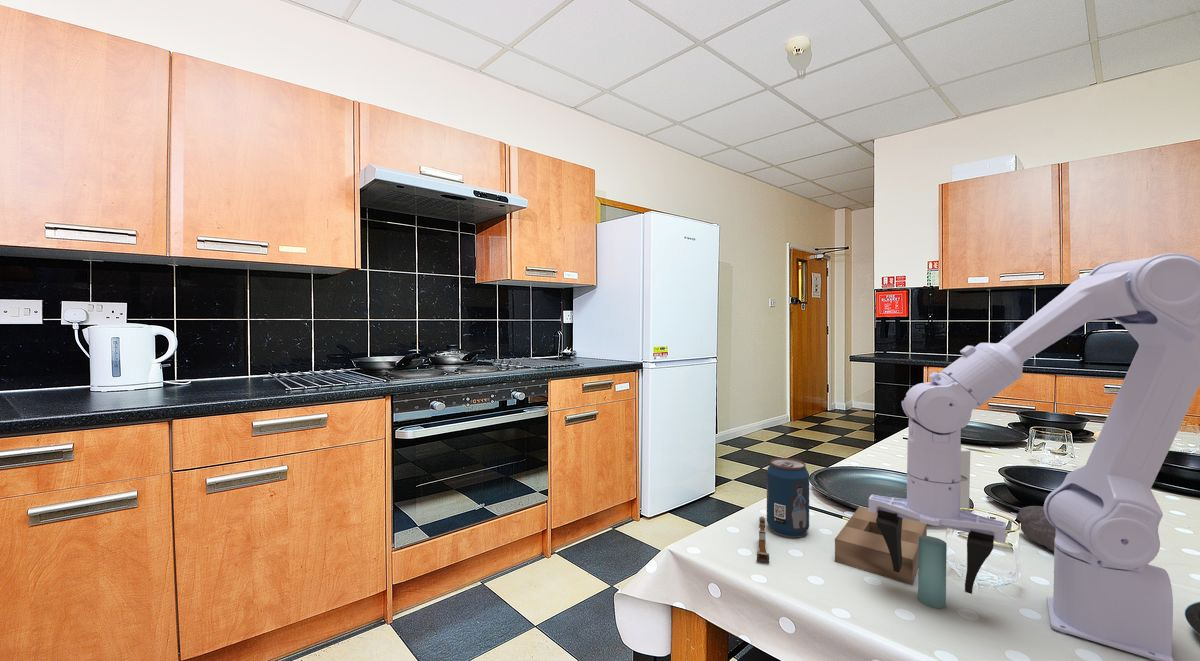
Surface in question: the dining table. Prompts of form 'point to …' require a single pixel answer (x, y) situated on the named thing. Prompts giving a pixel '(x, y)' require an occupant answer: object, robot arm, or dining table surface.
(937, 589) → the peg
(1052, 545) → the perforated stone tool
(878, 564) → the hole block
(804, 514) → the soda can
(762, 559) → the brown long banded part
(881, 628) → the dining table surface
